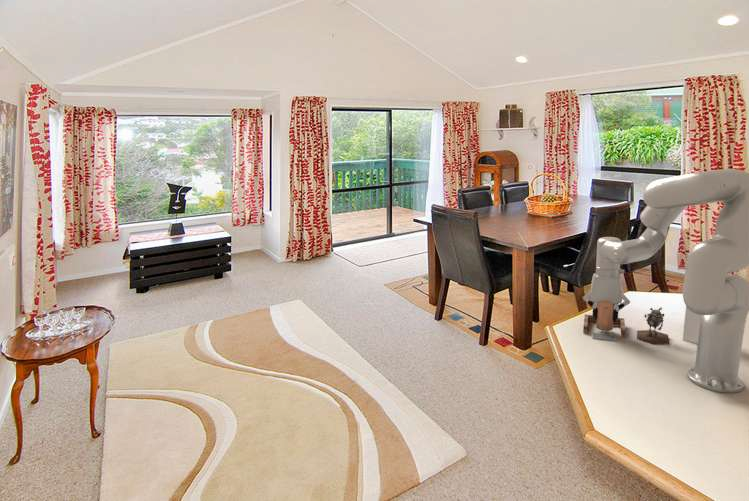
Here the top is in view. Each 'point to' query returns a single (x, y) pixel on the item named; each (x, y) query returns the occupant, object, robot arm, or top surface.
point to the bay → (618, 322)
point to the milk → (691, 326)
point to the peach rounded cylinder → (605, 316)
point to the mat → (603, 337)
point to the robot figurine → (651, 335)
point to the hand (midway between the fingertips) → (604, 318)
